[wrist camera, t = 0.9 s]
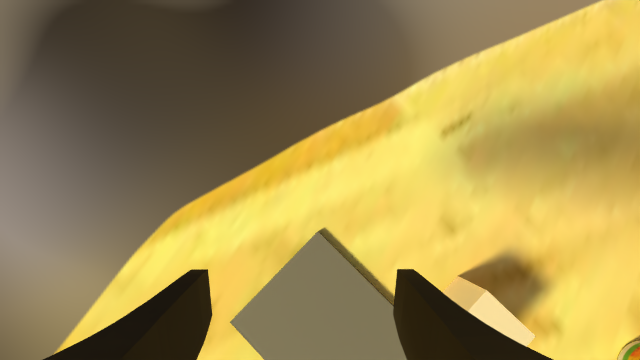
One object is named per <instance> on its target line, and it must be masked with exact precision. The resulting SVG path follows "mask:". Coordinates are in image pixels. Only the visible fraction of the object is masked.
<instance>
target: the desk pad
mask: <svg viewBox="0 0 640 360" xmlns="http://www.w3.org/2000/svg"><path fill="white" fill-rule="evenodd" d="M393 309H394V306H393V305H392V304H391V303H390V302H389V301H388V300H387V299H386V298H385V297H384V296H383V295H382V294H381V293H380V292H379V291H378V290H377V289H376V288H375V287H374V286H373V285H372V284H371V283H370V282H369V281H368V280H367V279H366V278H365V277H364V276H363V275H362V274H361V273H360V272H359V271H358V270H357V269H356V268H355V267H354V266H353V265H352V264H351V263H350V262H349V261H348V260H347V259H346V258H345V257H344V256H343V255H342V254H341V253H340V252H339V251H338V250H337V249H336V248H335V247H334V246H333V245H332V244H331V243H330V242H329V241H328V240H327V239H326V238H325V237H324V236H323V235H321V234H320V233H319V232H317V233H316V234H315V235H314V236H313V237H312V238H311V239H310V240H309V241H308V242H307V243H306V244H305V245H304V246H303V247H302V248H301V249H300V250H299V251H298V252H297V253H296V255H295V256H294V257H293V258H292V259H291V260H290V261H289V262H288V263H287V264H286V265H285V266H284V267H283V268H282V269H281V270H280V271H279V272H278V273H277V274H276V275H275V276H274V277H273V278H272V279H271V280H270V281H269V282H268V283H267V284H266V285H265V287H264V288H263V289H262V290H261V291H260V292H259V293H258V294H257V295H256V296H255V297H254V298H253V299H252V300H251V301H250V302H249V303H248V304H247V305H246V306H245V307H244V308H243V309H242V310H241V311H240V312H239V313H238V314H237V315H236V316H235V317H234V319H233V320H232V321H231V322H230V323H231V324H232V325H233V326H234V327H235V328H236V329H237V330H238V331H239V333H240V334H241V335H242V336H243V337H244V338H245V339H246V340H247V341H248V342H249V343H250V344H251V346H252V347H253V348H254V349H255V350H256V351H257V352H258V353H259V354H260V355H261V356H262V358H263V359H264V360H407V359H406V356H405V353H404V351H403V348H402V346H401V343H400V340H399V337H398V333H397V329H396V325H395V321H394V316H393Z"/></svg>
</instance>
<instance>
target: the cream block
mask: <svg viewBox="0 0 640 360" xmlns="http://www.w3.org/2000/svg"><path fill="white" fill-rule="evenodd" d="M442 293H444V294H445V295H446V296H448V297H449V298H450V299H451V300H453V301H454V302H455V303H457V304H458V305H459V306H461V307H462V308H464V309H465V310H466V311H468V312H469V313H471V314H472V315H474V316H475V317H477V318H478V319H480V320H481V321H483V322H484V323H486V324H487V325H489V326H491V327H492V328H494V329H496V330H497V331H499V332H501V333H502V334H504V335H506V336H507V337H509V338H511V339H513V340H515V341H517V342H518V343H520V344H522V345H524V346H527V345H528V344H529V343H530V342H531V341H532V340H533V339H534V338H535V335H534V334H533V333H532V332H531V331H529V330H528V329H527V328H526V327H525V326H524V325H523V324H522V323H521V322H520V321H519V320H518V319H517V318H516V317H515V316H514V315H513V314H511V313H510V312H509V311H508V310H507V309H506V308H505V307H504V306H503V305H502V304H501V303H500V302H499V301H498V300H497V299H496V298H495V297H493V296H492V295H491V294H490V293H489V292H488V291H487V290H485V289H483V288H481V287H479V286H477V285H475V284H473V283H471V282H469V281H467V280H465V279H463V278H461V277H459V276H457V277H456V278H455V279H454V280H453V281H452V282H451V283H450V284H449V286H448V287H447V288H446V289H445V290H444V291H443V292H442Z"/></svg>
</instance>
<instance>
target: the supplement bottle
mask: <svg viewBox="0 0 640 360" xmlns="http://www.w3.org/2000/svg"><path fill="white" fill-rule="evenodd" d="M617 360H640V341H635V342H632V343H630V344H628V345H627V346H625V347H624V348H623V349H622V350H621V352H620V354H619V356H618V359H617Z"/></svg>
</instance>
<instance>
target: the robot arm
mask: <svg viewBox="0 0 640 360" xmlns="http://www.w3.org/2000/svg"><path fill="white" fill-rule="evenodd" d="M393 316H394V321H395V325H396V329H397V333H398V337H399V340H400V343H401V346H402V348H403V351H404V353H405V356H406V359H407V360H553V359H551V358H549V357H546V356H544V355H542V354H540V353H538V352H536V351H534V350H532V349H530V348H528V347H526V346H524V345H522V344H520V343H518V342H517V341H515V340H513V339H511V338H509V337H507V336H506V335H504V334H502V333H501V332H499V331H497V330H496V329H494V328H492V327H491V326H489V325H487V324H486V323H484V322H483V321H481V320H480V319H478V318H477V317H475V316H474V315H472V314H471V313H469V312H468V311H466V310H465V309H464V308H462V307H461V306H459V305H458V304H457V303H455V302H454V301H453V300H451V299H450V298H449V297H448V296H446V295H445V294H444V293H442V292H441V291H440V290H439V289H437V288H436V287H435V286H434V285H432V284H431V283H430V282H429V281H428V280H426V279H425V278H424V277H423V276H421V275H420V274H419V273H418V272H416V271H415V270H413V269H397V279H396V289H395V299H394V309H393ZM211 318H212V308H211V297H210V287H209V277H208V270H190V271H189V272H187V273H186V274H184V275H183V276H181V277H180V278H179V279H177V280H176V281H174V282H173V283H172V284H170V285H169V286H168V287H166V288H165V289H164V290H162V291H161V292H159V293H158V294H157V295H155V296H154V297H153V298H151V299H150V300H148V301H147V302H145V303H144V304H142V305H141V306H139V307H138V308H136V309H135V310H133V311H132V312H130V313H129V314H127V315H126V316H124V317H123V318H121V319H120V320H118V321H116V322H115V323H113V324H111V325H110V326H108V327H106V328H104V329H103V330H101V331H99V332H97V333H95V334H94V335H92V336H90V337H88V338H86V339H84V340H82V341H80V342H78V343H76V344H74V345H72V346H70V347H68V348H66V349H64V350H62V351H60V352H58V353H56V354H54V355H52V356H50V357H48V358H46V359H43V360H197V357H198V355H199V353H200V350H201V348H202V346H203V343H204V341H205V338H206V335H207V332H208V328H209V325H210V321H211Z"/></svg>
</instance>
